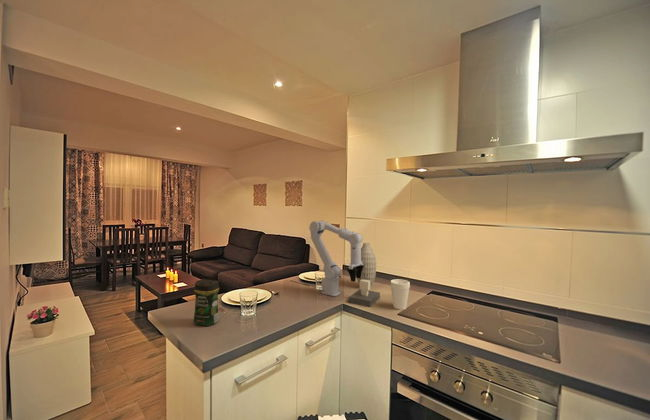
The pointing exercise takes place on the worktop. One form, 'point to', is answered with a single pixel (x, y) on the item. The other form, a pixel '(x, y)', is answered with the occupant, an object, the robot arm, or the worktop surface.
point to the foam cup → (400, 293)
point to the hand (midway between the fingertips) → (355, 279)
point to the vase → (368, 264)
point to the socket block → (364, 298)
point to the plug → (364, 287)
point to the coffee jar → (206, 302)
